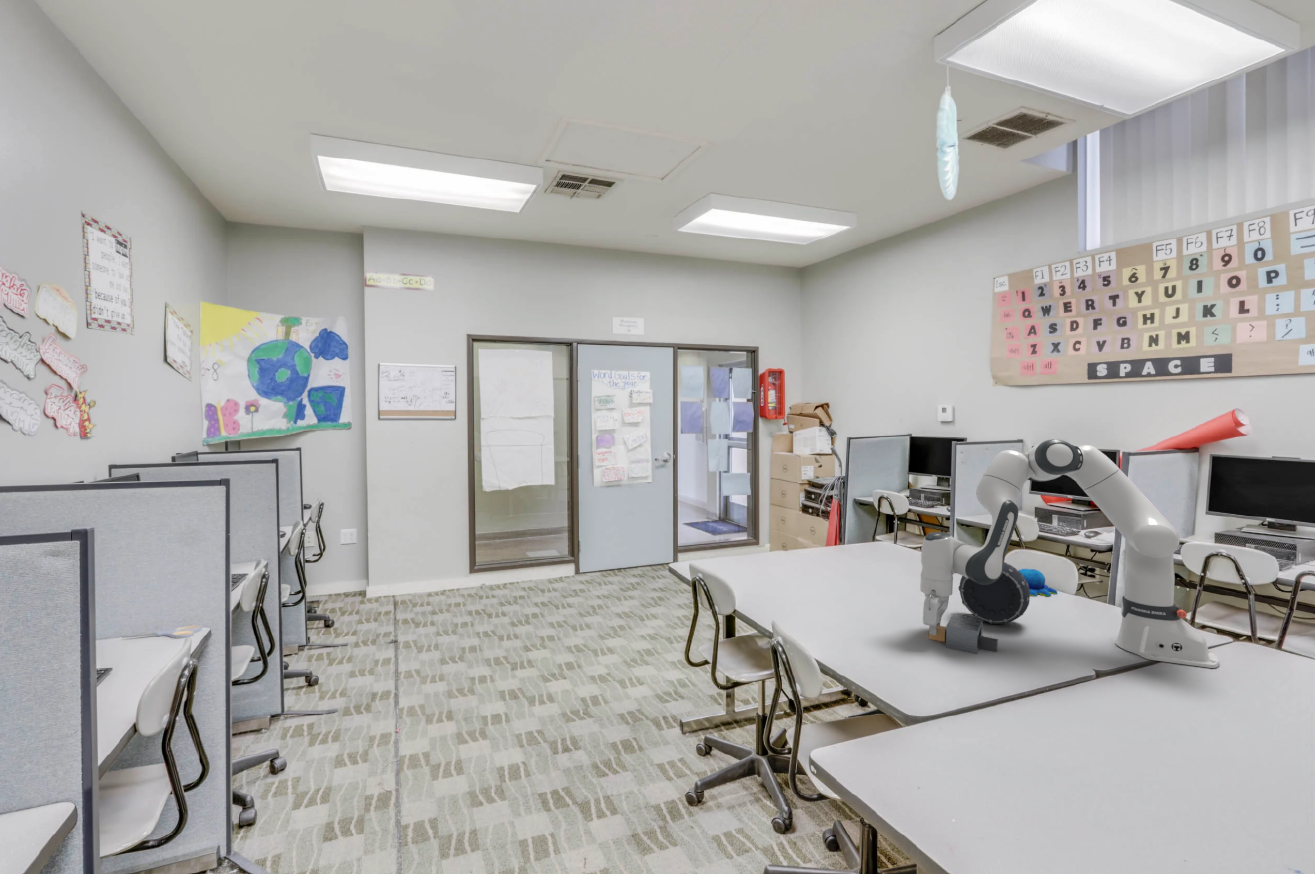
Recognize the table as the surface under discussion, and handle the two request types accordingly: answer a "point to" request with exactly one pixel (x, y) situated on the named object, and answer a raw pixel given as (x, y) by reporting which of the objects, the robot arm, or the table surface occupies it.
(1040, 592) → the plush toy
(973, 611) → the dotted bowl
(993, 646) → the plug
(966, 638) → the slotted block
